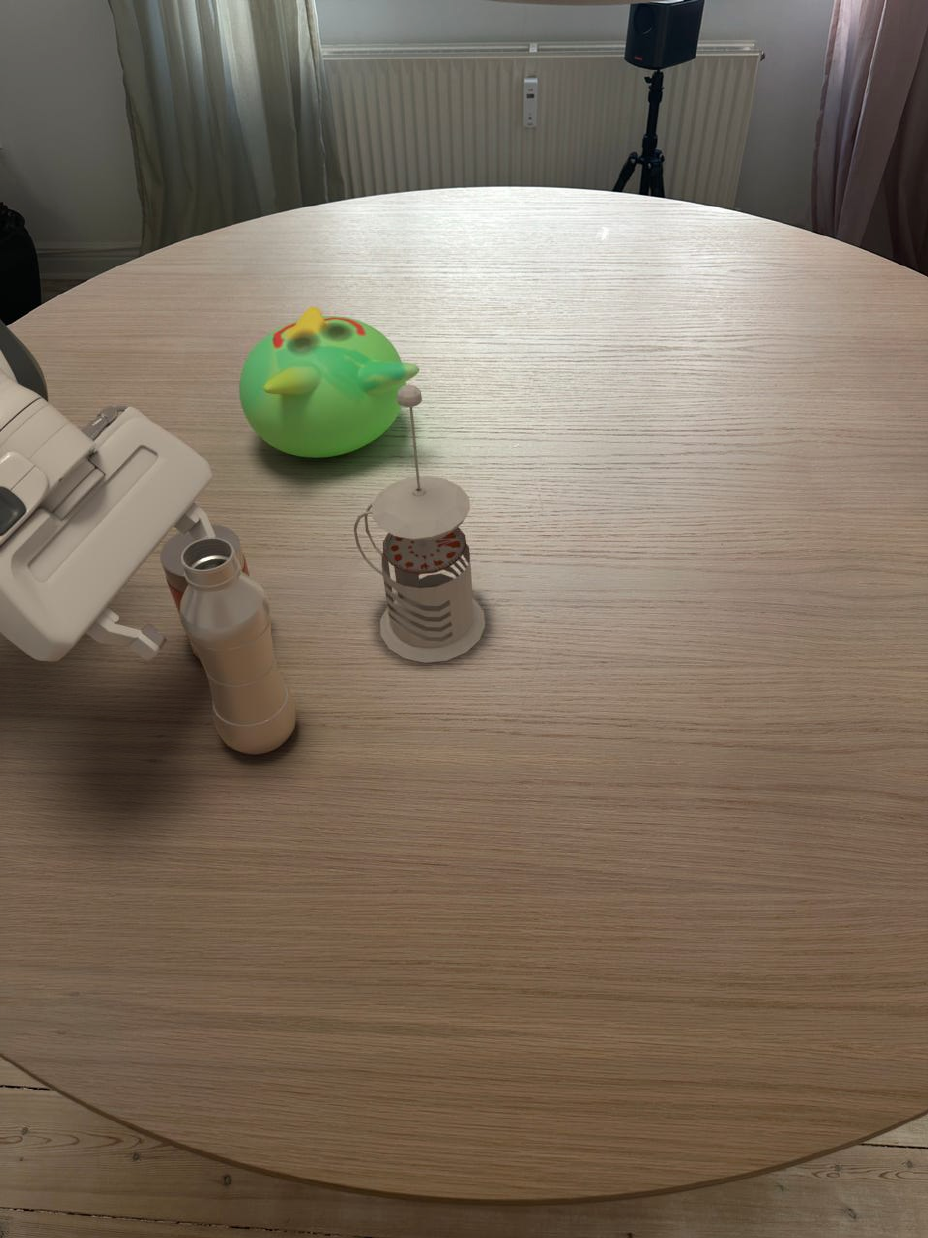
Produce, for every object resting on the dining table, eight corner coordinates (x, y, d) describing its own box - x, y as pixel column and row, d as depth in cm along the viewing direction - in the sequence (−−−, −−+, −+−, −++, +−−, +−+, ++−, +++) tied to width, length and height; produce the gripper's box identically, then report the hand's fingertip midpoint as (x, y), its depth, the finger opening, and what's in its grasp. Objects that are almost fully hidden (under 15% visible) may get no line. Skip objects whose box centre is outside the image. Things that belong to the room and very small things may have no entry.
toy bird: (384, 386, 119) (370, 270, 108) (435, 461, 108) (425, 341, 97) (239, 424, 114) (209, 307, 104) (276, 507, 103) (248, 386, 93)
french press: (452, 677, 86) (432, 438, 68) (342, 634, 90) (295, 399, 72) (504, 606, 91) (498, 369, 74) (398, 568, 96) (368, 336, 78)
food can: (185, 669, 88) (152, 579, 80) (197, 615, 93) (166, 525, 85) (261, 664, 88) (234, 574, 80) (269, 611, 92) (244, 521, 85)
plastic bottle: (244, 696, 85) (189, 516, 71) (314, 715, 83) (272, 534, 69) (206, 753, 81) (139, 574, 67) (278, 774, 79) (226, 594, 65)
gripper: (101, 415, 76) (238, 534, 81) (-79, 589, 63) (97, 720, 67) (135, 372, 72) (277, 500, 77) (-51, 549, 59) (135, 692, 63)
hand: (192, 605), depth 72 cm, fingers open, 8 cm apart
